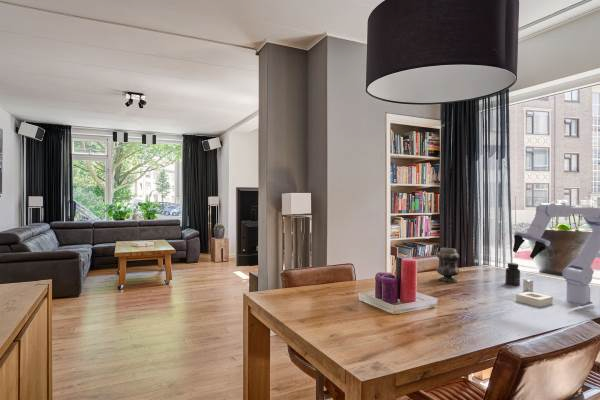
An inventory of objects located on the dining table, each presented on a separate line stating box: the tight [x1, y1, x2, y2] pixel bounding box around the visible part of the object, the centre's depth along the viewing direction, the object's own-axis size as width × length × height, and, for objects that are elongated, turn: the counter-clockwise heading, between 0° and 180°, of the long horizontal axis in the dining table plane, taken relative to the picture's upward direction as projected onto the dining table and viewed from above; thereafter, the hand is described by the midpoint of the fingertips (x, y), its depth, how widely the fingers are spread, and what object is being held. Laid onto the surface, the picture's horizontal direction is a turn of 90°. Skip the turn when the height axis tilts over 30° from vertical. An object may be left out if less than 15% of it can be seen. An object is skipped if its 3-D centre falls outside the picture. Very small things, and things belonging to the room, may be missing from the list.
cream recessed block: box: [499, 291, 567, 309], centre depth 164 cm, size 20×18×4 cm
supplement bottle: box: [504, 262, 521, 287], centre depth 192 cm, size 7×7×12 cm
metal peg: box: [522, 278, 534, 293], centre depth 171 cm, size 4×4×7 cm
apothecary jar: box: [436, 247, 460, 283], centre depth 204 cm, size 12×12×18 cm
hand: (522, 254), depth 158 cm, fingers open, 7 cm apart
